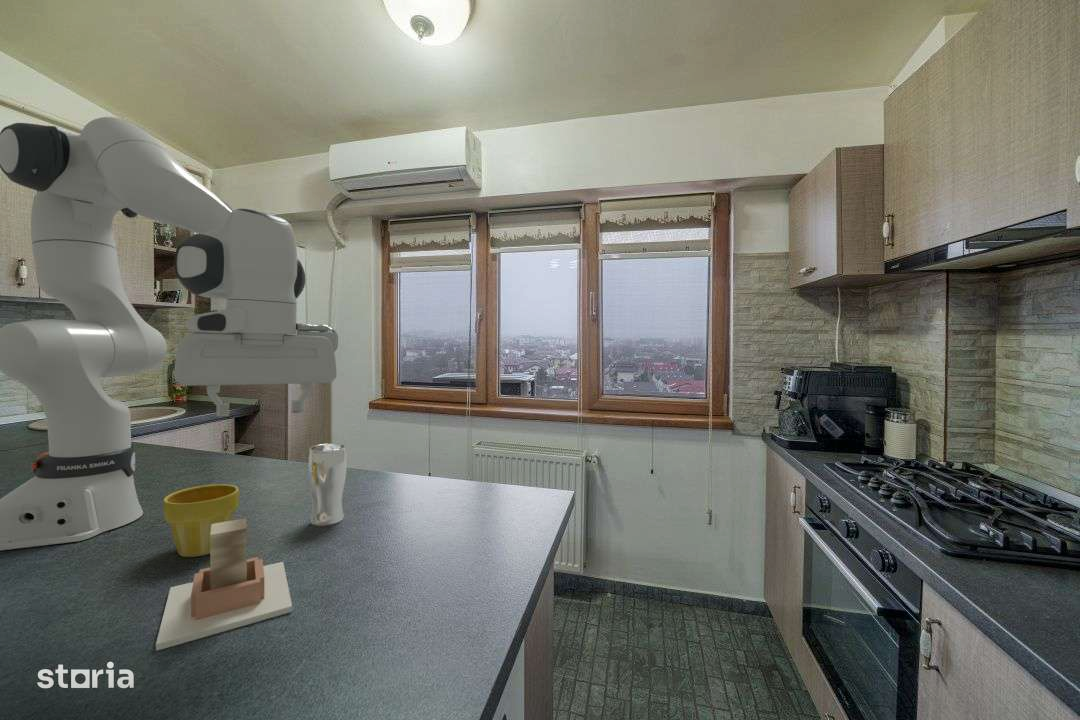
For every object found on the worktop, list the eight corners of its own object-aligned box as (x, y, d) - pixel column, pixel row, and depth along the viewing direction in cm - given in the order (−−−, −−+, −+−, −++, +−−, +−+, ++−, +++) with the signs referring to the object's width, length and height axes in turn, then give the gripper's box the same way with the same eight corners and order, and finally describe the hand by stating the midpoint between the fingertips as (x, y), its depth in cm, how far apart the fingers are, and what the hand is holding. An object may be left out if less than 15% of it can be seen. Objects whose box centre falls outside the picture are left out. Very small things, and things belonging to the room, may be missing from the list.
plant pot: (198, 534, 82) (197, 482, 81) (252, 536, 81) (252, 484, 81) (146, 562, 71) (145, 502, 71) (208, 564, 71) (208, 505, 71)
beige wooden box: (210, 608, 59) (210, 534, 58) (212, 593, 62) (211, 524, 61) (246, 599, 61) (246, 528, 60) (246, 585, 64) (246, 518, 64)
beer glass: (331, 529, 85) (331, 452, 85) (299, 525, 87) (300, 449, 86) (353, 515, 92) (353, 444, 91) (324, 511, 93) (324, 441, 93)
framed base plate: (155, 650, 52) (155, 619, 51) (170, 592, 63) (170, 566, 63) (292, 611, 60) (292, 584, 59) (283, 566, 71) (283, 543, 71)
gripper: (335, 325, 74) (333, 407, 75) (178, 318, 63) (178, 414, 63) (341, 325, 69) (340, 413, 69) (172, 317, 57) (172, 422, 58)
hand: (261, 414), depth 66 cm, fingers open, 8 cm apart
